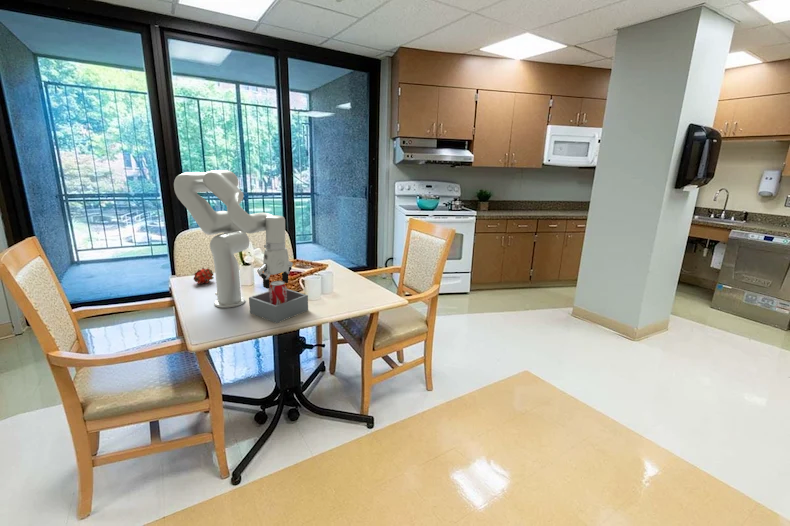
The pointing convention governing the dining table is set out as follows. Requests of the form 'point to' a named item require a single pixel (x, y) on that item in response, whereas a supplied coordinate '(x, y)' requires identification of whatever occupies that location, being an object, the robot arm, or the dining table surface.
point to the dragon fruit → (203, 276)
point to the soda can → (278, 292)
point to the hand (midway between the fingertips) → (276, 285)
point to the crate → (278, 306)
